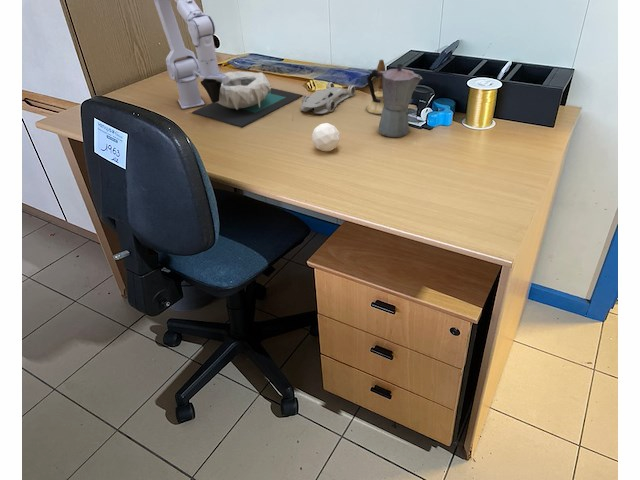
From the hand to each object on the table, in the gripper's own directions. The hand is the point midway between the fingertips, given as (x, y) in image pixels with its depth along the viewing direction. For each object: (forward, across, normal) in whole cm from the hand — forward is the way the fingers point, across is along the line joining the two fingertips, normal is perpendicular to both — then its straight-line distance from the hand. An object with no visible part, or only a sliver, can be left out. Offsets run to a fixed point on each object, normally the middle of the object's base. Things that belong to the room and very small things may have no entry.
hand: (215, 101), depth 156 cm
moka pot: (+6, +54, +20) cm, 58 cm away
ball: (+6, +44, 0) cm, 45 cm away
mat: (+6, 0, +14) cm, 15 cm away
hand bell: (+6, +42, +33) cm, 54 cm away
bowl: (+6, 0, +12) cm, 13 cm away
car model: (+6, +24, +28) cm, 38 cm away
